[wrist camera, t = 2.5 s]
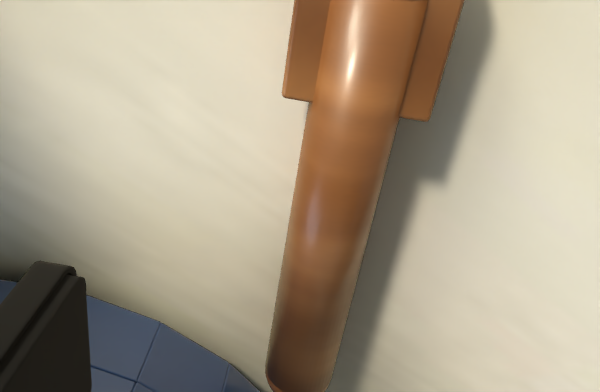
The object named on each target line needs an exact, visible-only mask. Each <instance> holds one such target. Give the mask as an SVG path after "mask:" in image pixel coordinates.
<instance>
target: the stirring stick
mask: <svg viewBox="0 0 600 392" xmlns="http://www.w3.org/2000/svg"><path fill="white" fill-rule="evenodd" d="M464 1H465V0H295V1H294V8H293V15H292V23H291V30H290V37H289V44H288V52H287V59H286V66H285V74H284V81H283V88H282V95H283V97H285V98H288V99H294V100H300V101H306V102H309V105H308V111H307V117H306V123H305V129H304V135H303V141H302V147H301V153H300V159H299V166H298V172H297V178H296V184H295V190H294V196H293V202H292V208H291V214H290V220H289V226H288V232H287V238H286V244H285V250H284V256H283V262H282V268H281V274H280V280H279V286H278V292H277V298H276V304H275V310H274V316H273V322H272V328H271V334H270V340H269V346H268V352H267V358H266V365H265V367H266V368H265V373H266V378H267V381H268V384H269V386H270V387H271V389H272V390H273V392H325V390H326V389H327V388H328V386H329V383H330V381H331V378H332V375H333V371H334V367H335V363H336V359H337V355H338V352H339V348H340V344H341V340H342V336H343V332H344V329H345V325H346V321H347V317H348V313H349V309H350V306H351V302H352V298H353V294H354V290H355V286H356V283H357V279H358V275H359V271H360V267H361V263H362V260H363V256H364V252H365V248H366V244H367V240H368V237H369V233H370V229H371V225H372V221H373V217H374V214H375V210H376V206H377V202H378V198H379V194H380V191H381V187H382V183H383V179H384V175H385V171H386V168H387V164H388V160H389V156H390V152H391V148H392V145H393V141H394V137H395V133H396V129H397V125H398V122H399V118H406V119H412V120H418V121H423V122H427V121H429V119H430V117H431V114H432V110H433V107H434V103H435V100H436V97H437V93H438V90H439V86H440V83H441V79H442V76H443V73H444V69H445V66H446V62H447V59H448V55H449V52H450V49H451V45H452V42H453V38H454V35H455V32H456V28H457V25H458V21H459V18H460V14H461V11H462V8H463V4H464Z"/></svg>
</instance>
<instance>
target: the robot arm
mask: <svg viewBox="0 0 600 392" xmlns="http://www.w3.org/2000/svg"><path fill="white" fill-rule="evenodd" d="M91 389H92V379H91V362H90V346H89V330H88V314H87V298H86V283H85V279H84V278H83V277H78V276H77V275H76V270H75V269H74V267H71V266H66V265H61V264H55V263H50V262H44V261H37V262H35V263H34V264H33V265H32V266H31V267H30V268H29V270H28V271H27V272H26V273H25V275H24V276H23V277H22V278H21V279H20V281H19V282H18V283H17V284H16V286H15V287H14V288H13V289H12V290H11V292H10V293H9V294H8V295H7V297H6V298H5V299H4V300H3V302H2V303H1V304H0V392H91Z"/></svg>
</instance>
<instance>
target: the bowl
mask: <svg viewBox="0 0 600 392" xmlns="http://www.w3.org/2000/svg"><path fill="white" fill-rule="evenodd" d="M17 283H18V282H14V281H8V280H2V279H0V304H1V303H2V302H3V300H4V299H5V298H6V297H7V295H8V294H9V293H10V292H11V290H12V289H13V288H14V287H15V286H16V284H17ZM86 298H87V314H88V330H89V346H90V362H91V379H92V389H91V392H260V391H259V390H258V389H257V388H256V387H255V386H254V385H253V384H252V383H251V382H249V381H248V380H247V379H246V378H245V377H244V376H243V375H242V374H241V373H240V372H239V371H238V370H237V369H235V368H234V367H233V366H232V365H231V364H229V363H228V362H227V361H226V360H224V359H222V358H221V357H219V356H217V355H216V354H214V353H212V352H210V351H209V350H207V349H205V348H204V347H202V346H200V345H199V344H197V343H195V342H194V341H192V340H190V339H189V338H187V337H185V336H183V335H182V334H180V333H178V332H177V331H175V330H173V329H172V328H170V327H168V326H167V325H165V324H163V323H160V321H157V320H154V319H152V318H149V317H146V316H143V315H141V314H138V313H135V312H132V311H130V310H127V309H124V308H121V307H119V306H116V305H113V304H110V303H108V302H105V301H102V300H99V299H97V298H94V297H91V296H88V295H86Z"/></svg>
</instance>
